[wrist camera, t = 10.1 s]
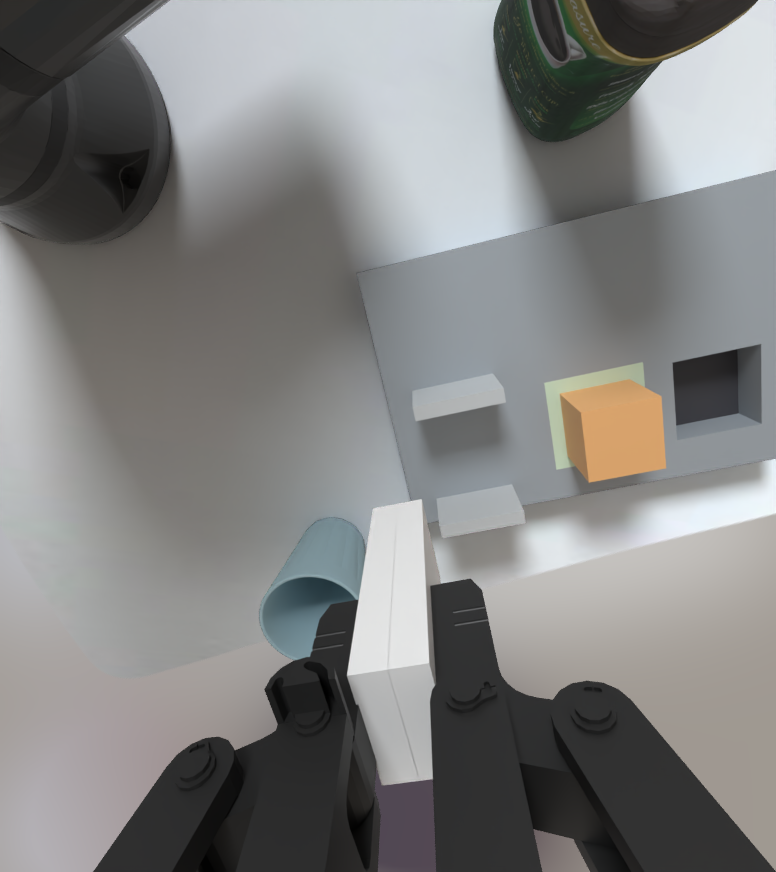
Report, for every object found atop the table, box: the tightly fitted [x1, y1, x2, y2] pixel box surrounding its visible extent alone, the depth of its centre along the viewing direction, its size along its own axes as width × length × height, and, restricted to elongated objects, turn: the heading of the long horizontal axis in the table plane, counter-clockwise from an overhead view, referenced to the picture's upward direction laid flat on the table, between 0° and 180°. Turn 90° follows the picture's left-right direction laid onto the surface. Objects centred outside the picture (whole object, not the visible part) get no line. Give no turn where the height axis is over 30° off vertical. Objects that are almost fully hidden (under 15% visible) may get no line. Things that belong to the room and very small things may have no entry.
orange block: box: [560, 379, 666, 483], centre depth 36 cm, size 5×5×5 cm
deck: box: [357, 170, 776, 538], centre depth 36 cm, size 20×28×8 cm
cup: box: [259, 518, 365, 660], centre depth 41 cm, size 8×8×10 cm
